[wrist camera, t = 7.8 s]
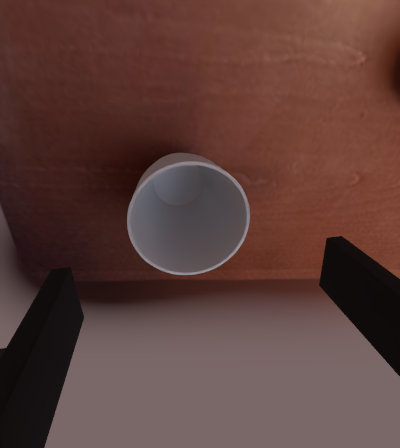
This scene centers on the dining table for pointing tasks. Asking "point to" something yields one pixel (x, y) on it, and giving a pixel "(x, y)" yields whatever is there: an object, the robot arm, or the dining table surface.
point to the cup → (187, 215)
